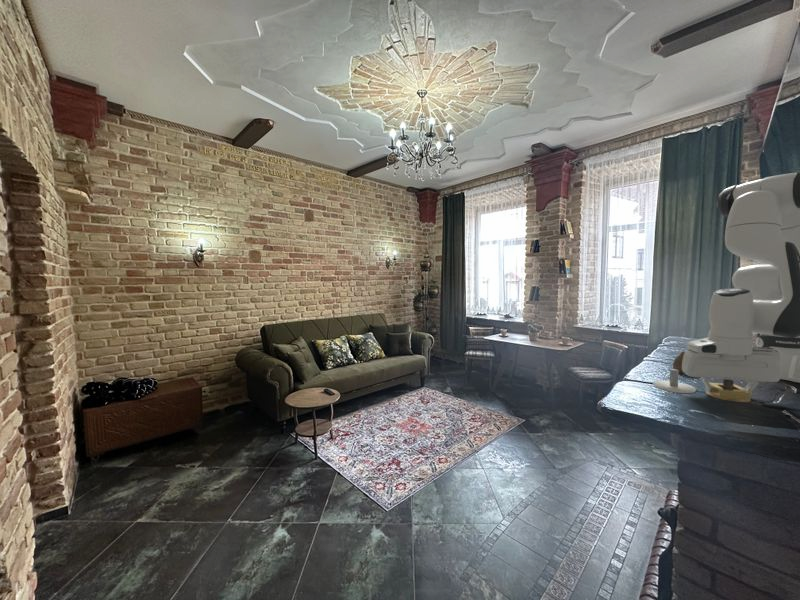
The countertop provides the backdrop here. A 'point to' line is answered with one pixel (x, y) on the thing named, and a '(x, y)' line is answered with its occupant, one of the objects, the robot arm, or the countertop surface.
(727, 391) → the yellow square frame
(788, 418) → the countertop surface
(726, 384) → the oak stand
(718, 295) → the robot arm
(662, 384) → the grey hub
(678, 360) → the vase
